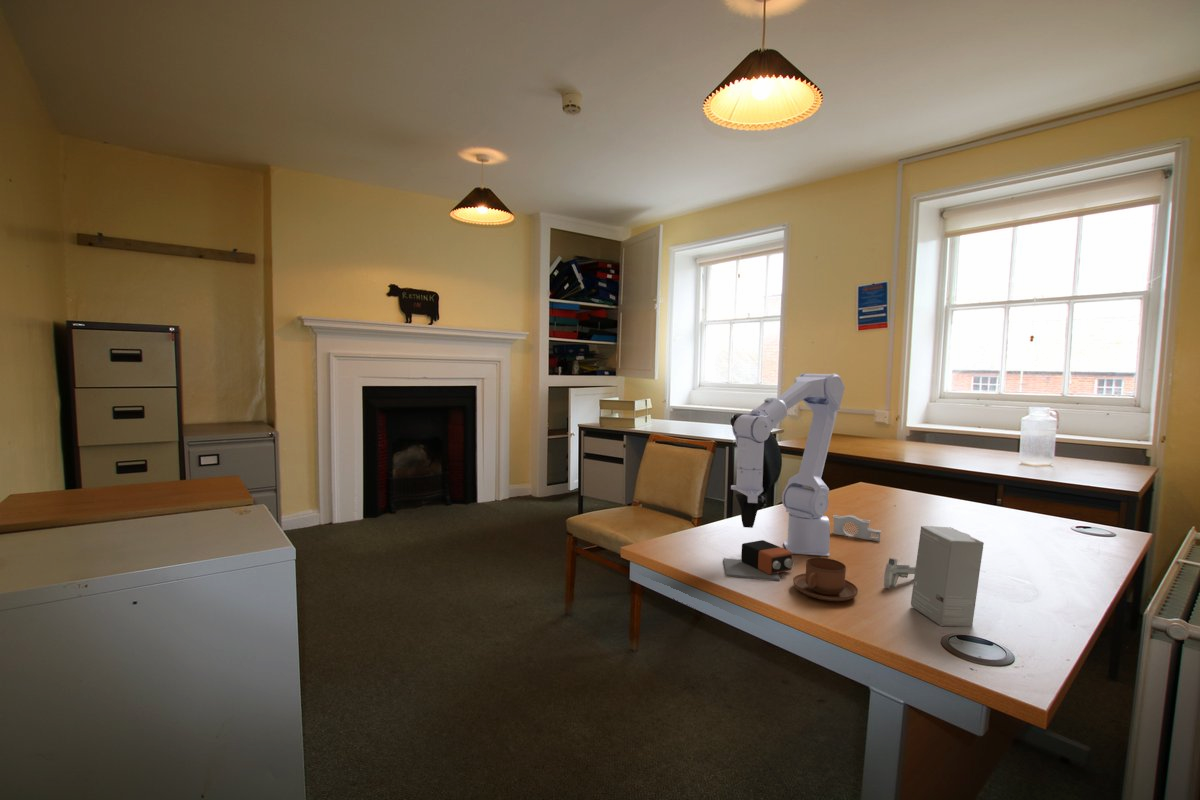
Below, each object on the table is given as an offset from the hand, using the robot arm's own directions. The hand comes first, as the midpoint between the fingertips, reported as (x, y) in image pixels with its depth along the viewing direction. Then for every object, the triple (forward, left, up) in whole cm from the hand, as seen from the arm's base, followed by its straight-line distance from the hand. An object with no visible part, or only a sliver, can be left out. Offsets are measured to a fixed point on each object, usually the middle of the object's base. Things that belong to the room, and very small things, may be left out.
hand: (747, 526), depth 123 cm
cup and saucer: (-14, +14, -9) cm, 21 cm away
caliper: (-35, +2, -9) cm, 36 cm away
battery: (-1, -2, -6) cm, 6 cm away
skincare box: (-33, +20, -9) cm, 40 cm away
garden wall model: (-32, -27, -9) cm, 43 cm away
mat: (0, +4, -9) cm, 10 cm away
